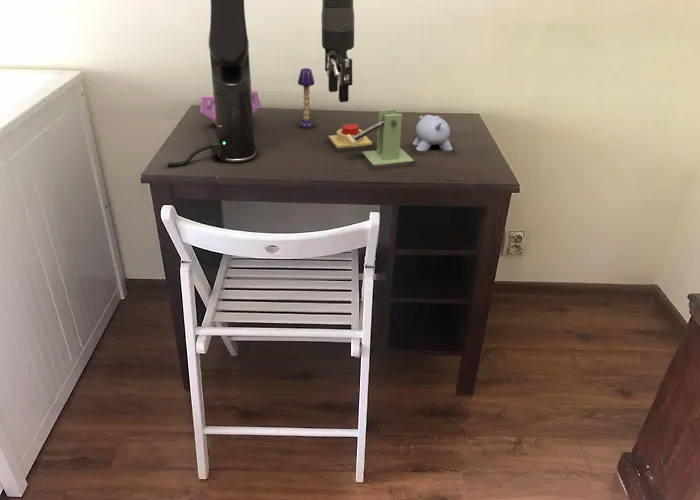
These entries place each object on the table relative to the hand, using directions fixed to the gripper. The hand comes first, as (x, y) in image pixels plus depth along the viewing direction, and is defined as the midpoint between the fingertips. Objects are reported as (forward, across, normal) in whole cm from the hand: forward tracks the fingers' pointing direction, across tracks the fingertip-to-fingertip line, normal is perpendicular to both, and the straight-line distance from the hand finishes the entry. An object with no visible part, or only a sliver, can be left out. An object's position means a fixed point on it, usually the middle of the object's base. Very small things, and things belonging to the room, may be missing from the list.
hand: (338, 96), depth 145 cm
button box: (+17, -10, +6) cm, 21 cm away
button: (+14, -10, +7) cm, 18 cm away
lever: (+9, +3, +8) cm, 13 cm away
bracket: (+17, +3, +12) cm, 21 cm away
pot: (+16, -32, -22) cm, 43 cm away
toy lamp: (+17, -27, -1) cm, 32 cm away
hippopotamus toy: (+18, -3, +27) cm, 33 cm away
